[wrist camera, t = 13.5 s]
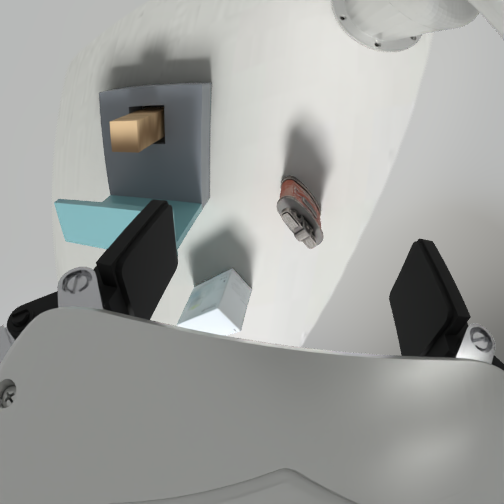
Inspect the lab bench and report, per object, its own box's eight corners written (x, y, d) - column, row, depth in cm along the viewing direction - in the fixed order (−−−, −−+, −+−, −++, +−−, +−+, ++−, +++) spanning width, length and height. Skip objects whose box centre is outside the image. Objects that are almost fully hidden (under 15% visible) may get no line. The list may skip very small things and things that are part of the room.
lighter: (325, 211, 42) (330, 249, 34) (307, 222, 44) (308, 262, 36) (293, 171, 39) (291, 201, 31) (275, 184, 41) (268, 217, 33)
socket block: (111, 89, 34) (37, 111, 22) (215, 82, 33) (163, 93, 20) (121, 189, 45) (65, 241, 33) (212, 198, 44) (174, 261, 31)
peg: (147, 107, 36) (109, 121, 28) (171, 107, 36) (137, 120, 28) (148, 131, 38) (112, 151, 31) (171, 132, 38) (138, 152, 30)
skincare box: (231, 265, 52) (217, 308, 43) (252, 288, 54) (243, 332, 46) (192, 285, 56) (175, 325, 48) (213, 306, 59) (199, 345, 51)
